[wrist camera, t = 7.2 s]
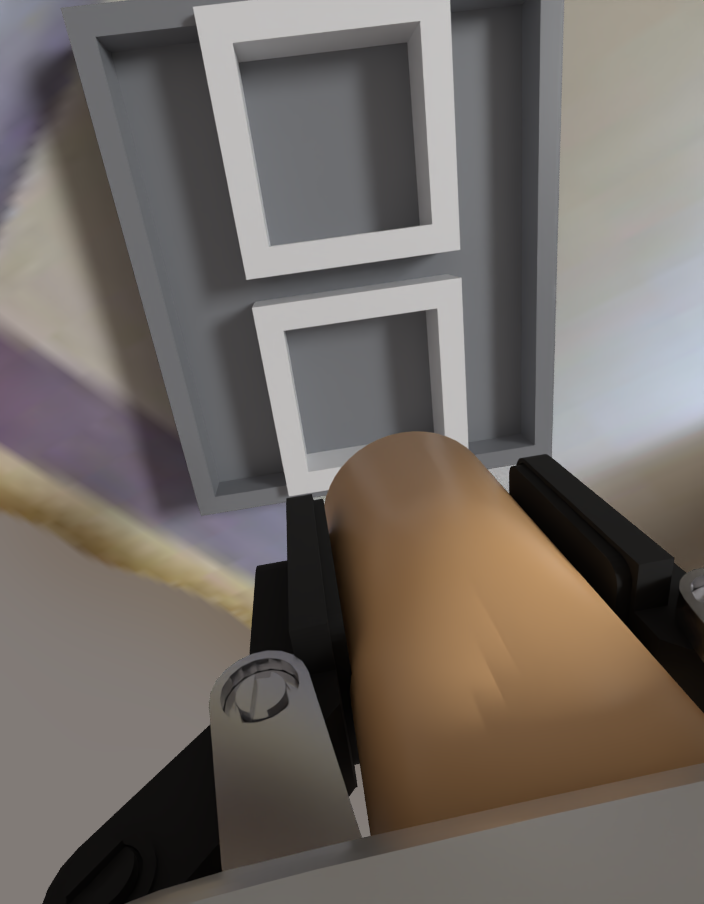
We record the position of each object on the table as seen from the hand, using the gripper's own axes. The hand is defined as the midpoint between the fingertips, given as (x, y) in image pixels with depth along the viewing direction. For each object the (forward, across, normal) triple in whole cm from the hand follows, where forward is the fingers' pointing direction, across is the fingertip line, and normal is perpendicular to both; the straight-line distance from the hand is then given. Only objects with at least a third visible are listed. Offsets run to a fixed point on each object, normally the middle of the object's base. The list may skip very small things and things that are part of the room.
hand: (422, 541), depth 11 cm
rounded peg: (+1, 0, 0) cm, 1 cm away
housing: (+14, -1, -4) cm, 15 cm away
